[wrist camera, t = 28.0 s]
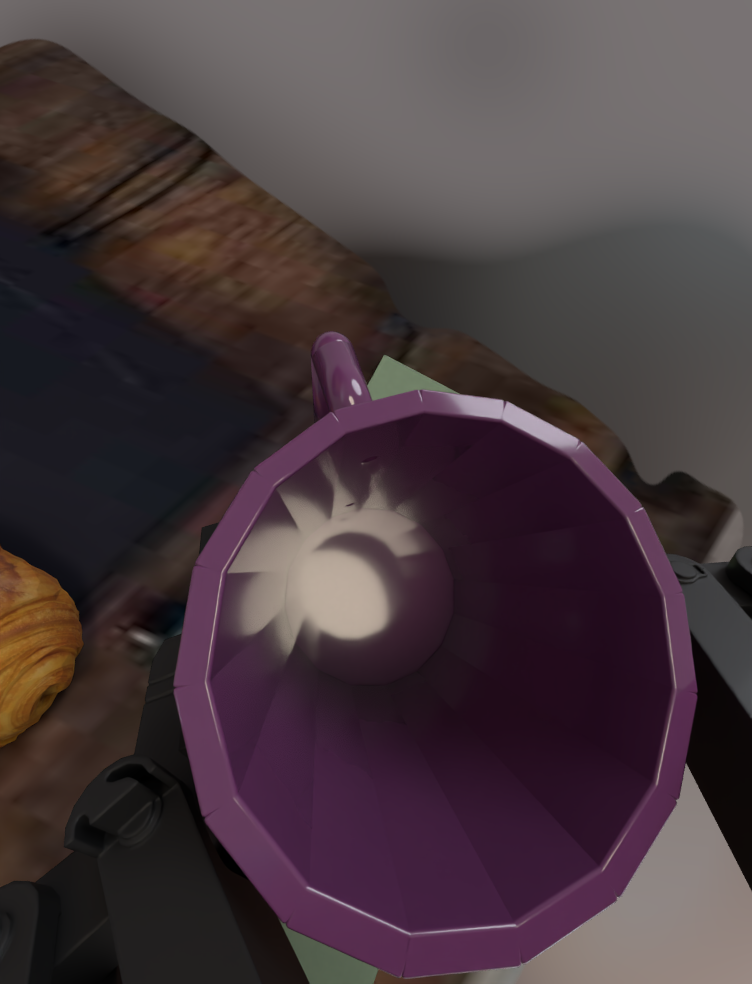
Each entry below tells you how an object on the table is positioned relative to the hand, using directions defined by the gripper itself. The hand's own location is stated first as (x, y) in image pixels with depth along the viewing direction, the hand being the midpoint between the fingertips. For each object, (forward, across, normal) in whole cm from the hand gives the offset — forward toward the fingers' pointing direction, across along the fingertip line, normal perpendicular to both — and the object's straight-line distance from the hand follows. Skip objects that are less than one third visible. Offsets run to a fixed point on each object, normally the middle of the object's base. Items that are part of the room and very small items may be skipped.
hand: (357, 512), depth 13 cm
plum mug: (+2, 0, -4) cm, 4 cm away
